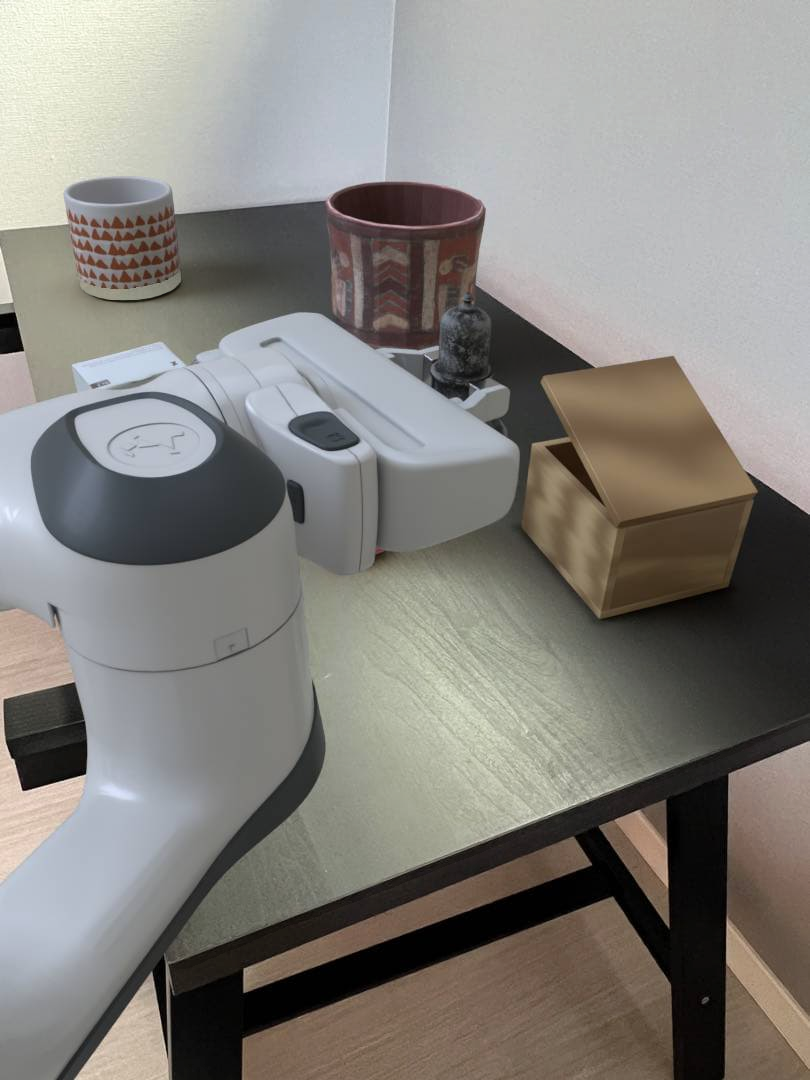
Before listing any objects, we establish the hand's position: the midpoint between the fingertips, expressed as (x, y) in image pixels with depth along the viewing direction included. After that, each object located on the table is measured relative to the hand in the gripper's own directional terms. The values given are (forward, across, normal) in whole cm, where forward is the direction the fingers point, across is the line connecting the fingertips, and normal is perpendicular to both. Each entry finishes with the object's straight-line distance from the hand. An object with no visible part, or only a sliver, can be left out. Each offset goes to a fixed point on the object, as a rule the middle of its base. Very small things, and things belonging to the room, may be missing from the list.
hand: (474, 378), depth 54 cm
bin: (+23, -5, -25) cm, 34 cm away
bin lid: (+23, -5, -13) cm, 27 cm away
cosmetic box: (-9, -33, -25) cm, 42 cm away
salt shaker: (-1, 0, -7) cm, 7 cm away
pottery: (+30, -50, -25) cm, 63 cm away
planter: (+10, -87, -25) cm, 91 cm away
